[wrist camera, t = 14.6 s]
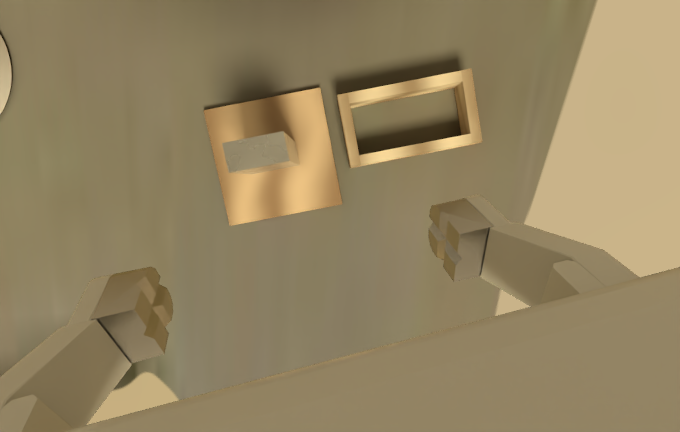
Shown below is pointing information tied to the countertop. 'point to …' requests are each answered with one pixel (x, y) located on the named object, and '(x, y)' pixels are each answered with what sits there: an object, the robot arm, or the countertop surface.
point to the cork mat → (282, 184)
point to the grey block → (261, 153)
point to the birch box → (456, 80)
